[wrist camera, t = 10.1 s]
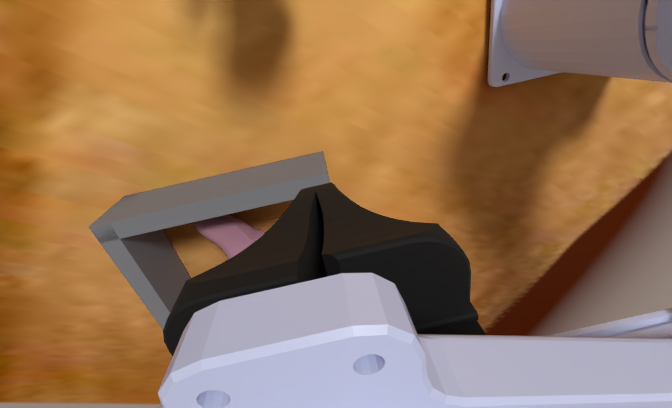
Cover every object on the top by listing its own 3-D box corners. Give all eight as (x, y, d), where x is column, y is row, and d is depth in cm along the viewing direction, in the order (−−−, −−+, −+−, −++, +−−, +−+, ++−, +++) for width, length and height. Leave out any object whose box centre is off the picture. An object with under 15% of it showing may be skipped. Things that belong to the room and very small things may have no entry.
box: (322, 151, 21) (327, 172, 17) (365, 338, 30) (374, 376, 27) (124, 196, 21) (88, 226, 17) (230, 368, 30) (221, 410, 27)
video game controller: (255, 291, 28) (285, 349, 23) (203, 308, 26) (224, 377, 21) (252, 197, 24) (290, 245, 19) (190, 207, 21) (213, 265, 16)
